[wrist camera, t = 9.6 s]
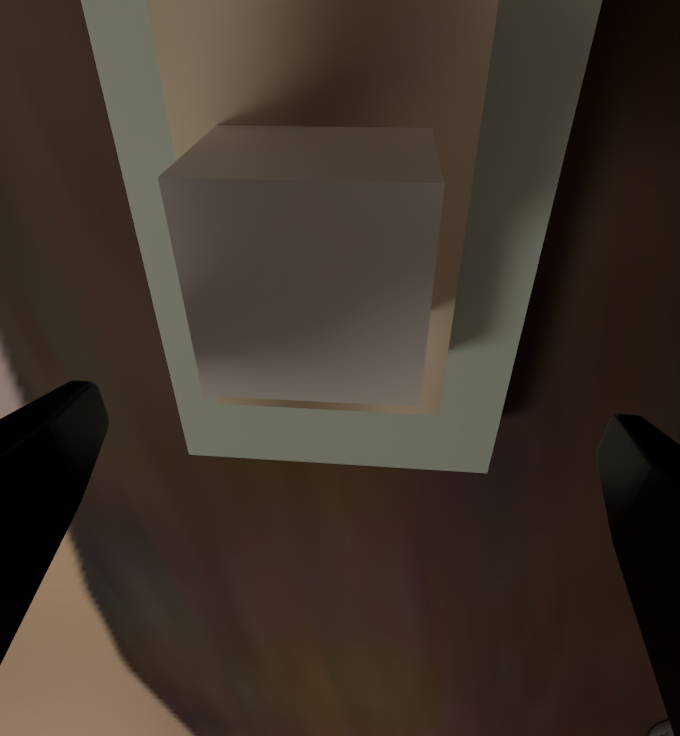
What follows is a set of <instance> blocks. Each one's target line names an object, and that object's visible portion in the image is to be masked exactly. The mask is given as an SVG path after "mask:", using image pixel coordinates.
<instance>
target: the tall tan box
mask: <svg viewBox="0 0 680 736" xmlns="http://www.w3.org/2000/svg"><path fill="white" fill-rule="evenodd" d="M146 1H147V7H148V12H149V18H150V23H151V29H152V34H153V40H154V46H155V51H156V57H157V62H158V68H159V73H160V79H161V84H162V90H163V95H164V101H165V106H166V112H167V117H168V123H169V128H170V134H171V140H172V145H173V151H174V156H175V162H176V161H177V160H178V159H179V158H180V157H181V156H182V155H183V154H185V153H186V152H187V151H188V150H189V149H190V148H191V147H192V146H194V145H195V144H196V143H197V142H198V141H199V140H200V139H201V138H203V137H204V136H205V135H206V134H207V133H208V132H209V131H210V130H212V129H213V128H214V127H215V126H216V125H251V126H325V127H399V128H432V129H433V133H434V138H435V142H436V147H437V151H438V156H439V160H440V164H441V169H442V173H443V178H444V182H445V186H444V195H443V204H442V213H441V222H440V231H439V240H438V249H437V258H436V267H435V276H434V285H433V294H432V303H431V312H430V321H429V330H428V339H427V349H426V358H425V367H424V376H423V385H422V394H421V403H420V407H416V406H396V405H376V404H356V403H336V402H316V401H295V400H275V399H255V398H235V397H218V399H219V404H232V405H251V406H270V407H288V408H307V409H326V410H345V411H363V412H382V413H401V414H420V415H438V416H439V410H440V404H441V397H442V390H443V383H444V376H445V369H446V362H447V355H448V348H449V341H450V335H451V328H452V321H453V314H454V307H455V300H456V293H457V286H458V279H459V272H460V266H461V259H462V252H463V245H464V238H465V231H466V224H467V217H468V210H469V203H470V196H471V190H472V183H473V176H474V169H475V162H476V155H477V148H478V141H479V134H480V127H481V121H482V114H483V107H484V100H485V93H486V86H487V79H488V72H489V65H490V58H491V51H492V45H493V38H494V31H495V24H496V17H497V10H498V3H499V0H146Z"/></svg>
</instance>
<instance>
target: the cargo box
mask: <svg viewBox="0 0 680 736" xmlns="http://www.w3.org/2000/svg"><path fill="white" fill-rule="evenodd" d="M158 181H159V186H160V191H161V196H162V201H163V206H164V210H165V215H166V220H167V225H168V230H169V235H170V239H171V244H172V249H173V254H174V259H175V263H176V268H177V273H178V278H179V283H180V288H181V292H182V297H183V302H184V307H185V312H186V317H187V321H188V326H189V331H190V336H191V341H192V346H193V350H194V355H195V360H196V365H197V370H198V374H199V379H200V384H201V389H202V394H203V396H215V397H235V398H255V399H275V400H295V401H316V402H336V403H356V404H376V405H396V406H416V407H420V403H421V394H422V385H423V376H424V367H425V358H426V349H427V339H428V330H429V321H430V312H431V303H432V294H433V285H434V276H435V267H436V258H437V249H438V240H439V231H440V222H441V213H442V204H443V195H444V186H445V182H444V178H443V173H442V169H441V164H440V160H439V156H438V151H437V147H436V142H435V138H434V133H433V129H432V128H399V127H325V126H251V125H216V126H215V127H214V128H213V129H212V130H210V131H209V132H208V133H207V134H206V135H205V136H204V137H203V138H201V139H200V140H199V141H198V142H197V143H196V144H195V145H194V146H192V147H191V148H190V149H189V150H188V151H187V152H186V153H185V154H183V155H182V156H181V157H180V158H179V159H178V160H177V161H176V162H174V163H173V164H172V165H171V166H170V167H169V168H168V169H167V170H165V171H164V172H163V173H162V174H161V175H160V176H159V177H158Z"/></svg>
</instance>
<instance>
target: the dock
mask: <svg viewBox="0 0 680 736" xmlns="http://www.w3.org/2000/svg"><path fill="white" fill-rule="evenodd" d="M81 3H82V7H83V11H84V16H85V20H86V24H87V28H88V32H89V37H90V41H91V45H92V49H93V53H94V58H95V62H96V66H97V70H98V74H99V79H100V83H101V87H102V91H103V95H104V100H105V104H106V108H107V112H108V116H109V120H110V125H111V129H112V133H113V137H114V141H115V146H116V150H117V154H118V158H119V162H120V167H121V171H122V175H123V179H124V183H125V188H126V192H127V196H128V200H129V204H130V209H131V213H132V217H133V221H134V225H135V230H136V234H137V238H138V242H139V246H140V251H141V255H142V259H143V263H144V267H145V272H146V276H147V280H148V284H149V288H150V293H151V297H152V301H153V305H154V309H155V314H156V318H157V322H158V326H159V330H160V335H161V339H162V343H163V347H164V351H165V356H166V360H167V364H168V368H169V372H170V376H171V381H172V385H173V389H174V393H175V397H176V402H177V406H178V410H179V414H180V418H181V423H182V427H183V431H184V435H185V439H186V444H187V448H188V452H189V454H190V455H206V456H222V457H238V458H254V459H270V460H286V461H302V462H318V463H333V464H349V465H365V466H381V467H397V468H413V469H429V470H445V471H461V472H477V473H487V472H488V468H489V463H490V459H491V455H492V451H493V447H494V443H495V439H496V435H497V431H498V427H499V422H500V418H501V414H502V410H503V406H504V402H505V398H506V394H507V390H508V385H509V381H510V377H511V373H512V369H513V365H514V361H515V357H516V353H517V349H518V344H519V340H520V336H521V332H522V328H523V324H524V320H525V316H526V312H527V308H528V303H529V299H530V295H531V291H532V287H533V283H534V279H535V275H536V271H537V267H538V262H539V258H540V254H541V250H542V246H543V242H544V238H545V234H546V230H547V225H548V221H549V217H550V213H551V209H552V205H553V201H554V197H555V193H556V189H557V184H558V180H559V176H560V172H561V168H562V164H563V160H564V156H565V152H566V148H567V143H568V139H569V135H570V131H571V127H572V123H573V119H574V115H575V111H576V106H577V102H578V98H579V94H580V90H581V86H582V82H583V78H584V74H585V70H586V65H587V61H588V57H589V53H590V49H591V45H592V41H593V37H594V33H595V29H596V24H597V20H598V16H599V12H600V8H601V4H602V0H499V3H498V10H497V17H496V24H495V31H494V38H493V45H492V51H491V58H490V65H489V72H488V79H487V86H486V93H485V100H484V107H483V114H482V121H481V127H480V134H479V141H478V148H477V155H476V162H475V169H474V176H473V183H472V190H471V196H470V203H469V210H468V217H467V224H466V231H465V238H464V245H463V252H462V259H461V266H460V272H459V279H458V286H457V293H456V300H455V307H454V314H453V321H452V328H451V335H450V341H449V348H448V355H447V362H446V369H445V376H444V383H443V390H442V397H441V404H440V410H439V416H438V415H420V414H401V413H382V412H363V411H345V410H326V409H307V408H288V407H270V406H251V405H232V404H219V399H218V397H215V396H203V394H202V389H201V384H200V379H199V374H198V370H197V365H196V360H195V355H194V350H193V346H192V341H191V336H190V331H189V326H188V321H187V317H186V312H185V307H184V302H183V297H182V292H181V288H180V283H179V278H178V273H177V268H176V263H175V259H174V254H173V249H172V244H171V239H170V235H169V230H168V225H167V220H166V215H165V210H164V206H163V201H162V196H161V191H160V186H159V181H158V177H159V176H160V175H161V174H162V173H163V172H164V171H165V170H167V169H168V168H169V167H170V166H171V165H172V164H173V163H174V162H175V156H174V151H173V145H172V140H171V134H170V128H169V123H168V117H167V112H166V106H165V101H164V95H163V90H162V84H161V79H160V73H159V68H158V62H157V57H156V51H155V46H154V40H153V34H152V29H151V23H150V18H149V12H148V7H147V1H146V0H81Z"/></svg>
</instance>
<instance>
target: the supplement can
mask: <svg viewBox="0 0 680 736" xmlns="http://www.w3.org/2000/svg"><path fill="white" fill-rule="evenodd" d="M649 736H674V734H673V731H672V728H671V725H670V721H669V720H668V721H665V722H663V723H660V724H658V725H657V726H655V727H654V728H653V729H652V730H651V731H650V733H649Z"/></svg>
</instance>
